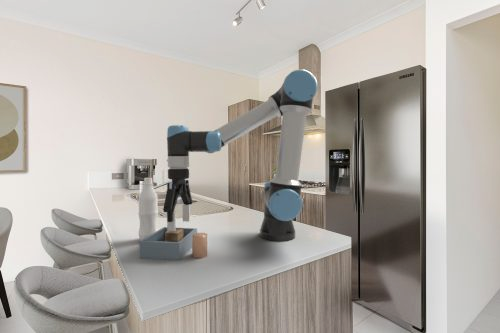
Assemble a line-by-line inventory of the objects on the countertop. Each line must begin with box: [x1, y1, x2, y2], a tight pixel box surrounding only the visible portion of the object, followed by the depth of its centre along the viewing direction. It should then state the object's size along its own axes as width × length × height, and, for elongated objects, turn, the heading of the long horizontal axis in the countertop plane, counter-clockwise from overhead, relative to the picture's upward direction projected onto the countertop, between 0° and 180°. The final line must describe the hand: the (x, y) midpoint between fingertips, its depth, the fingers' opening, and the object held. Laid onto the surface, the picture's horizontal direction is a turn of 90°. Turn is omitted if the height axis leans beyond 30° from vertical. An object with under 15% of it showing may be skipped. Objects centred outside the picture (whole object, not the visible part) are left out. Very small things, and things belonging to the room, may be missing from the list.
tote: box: [138, 226, 198, 261], centre depth 90 cm, size 14×18×6 cm
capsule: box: [191, 232, 208, 259], centre depth 85 cm, size 5×5×7 cm
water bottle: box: [138, 177, 159, 241], centre depth 100 cm, size 7×7×25 cm
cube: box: [165, 229, 183, 242], centre depth 95 cm, size 5×5×5 cm
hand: (179, 225), depth 93 cm, fingers open, 13 cm apart
